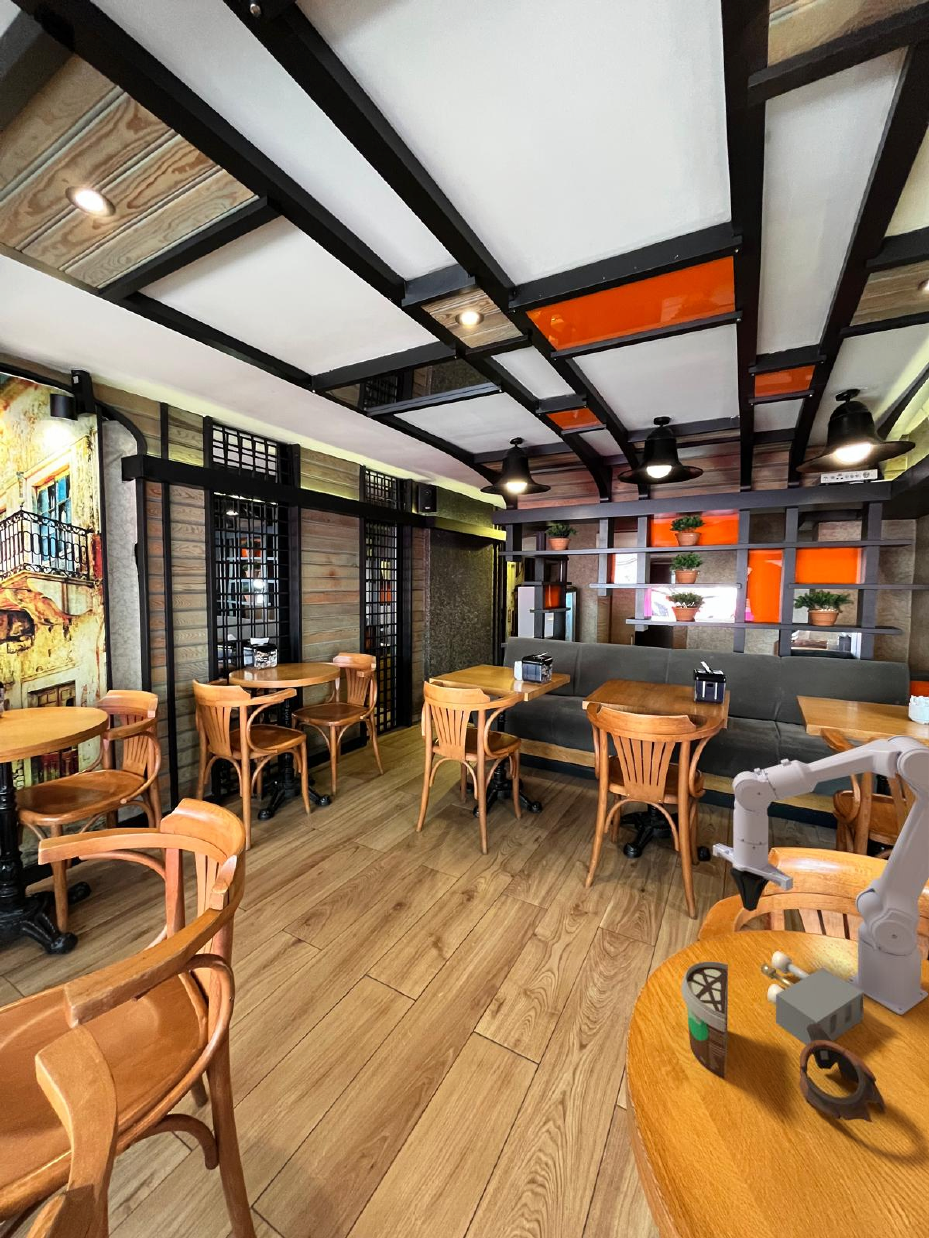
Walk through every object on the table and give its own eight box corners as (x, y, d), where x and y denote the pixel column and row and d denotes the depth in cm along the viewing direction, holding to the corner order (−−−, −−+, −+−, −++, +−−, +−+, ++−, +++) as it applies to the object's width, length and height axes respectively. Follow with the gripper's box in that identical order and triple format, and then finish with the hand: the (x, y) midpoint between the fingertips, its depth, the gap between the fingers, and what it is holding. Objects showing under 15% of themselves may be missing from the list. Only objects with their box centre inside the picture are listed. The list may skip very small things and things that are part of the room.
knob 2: (781, 963, 91) (781, 948, 91) (824, 991, 84) (824, 975, 84) (771, 968, 90) (771, 953, 89) (815, 997, 83) (815, 980, 83)
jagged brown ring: (912, 1141, 62) (894, 1099, 61) (836, 1161, 64) (816, 1121, 62) (845, 1037, 74) (828, 999, 72) (782, 1056, 76) (764, 1020, 74)
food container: (685, 1008, 83) (686, 949, 82) (727, 1023, 80) (728, 962, 79) (676, 1068, 72) (676, 1000, 72) (724, 1088, 69) (724, 1017, 69)
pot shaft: (767, 971, 88) (767, 961, 88) (808, 998, 82) (808, 987, 82) (760, 974, 88) (760, 964, 87) (802, 1002, 81) (802, 991, 81)
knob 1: (777, 997, 83) (777, 981, 83) (825, 1030, 76) (825, 1012, 76) (767, 1003, 82) (767, 986, 82) (815, 1037, 75) (815, 1019, 75)
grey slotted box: (822, 993, 85) (822, 967, 85) (863, 1019, 80) (863, 991, 80) (776, 1022, 80) (776, 994, 80) (816, 1052, 74) (816, 1022, 74)
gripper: (702, 826, 99) (702, 894, 99) (776, 859, 86) (775, 937, 86) (726, 819, 102) (725, 885, 102) (800, 850, 89) (799, 925, 89)
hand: (750, 908), depth 94 cm, fingers closed
